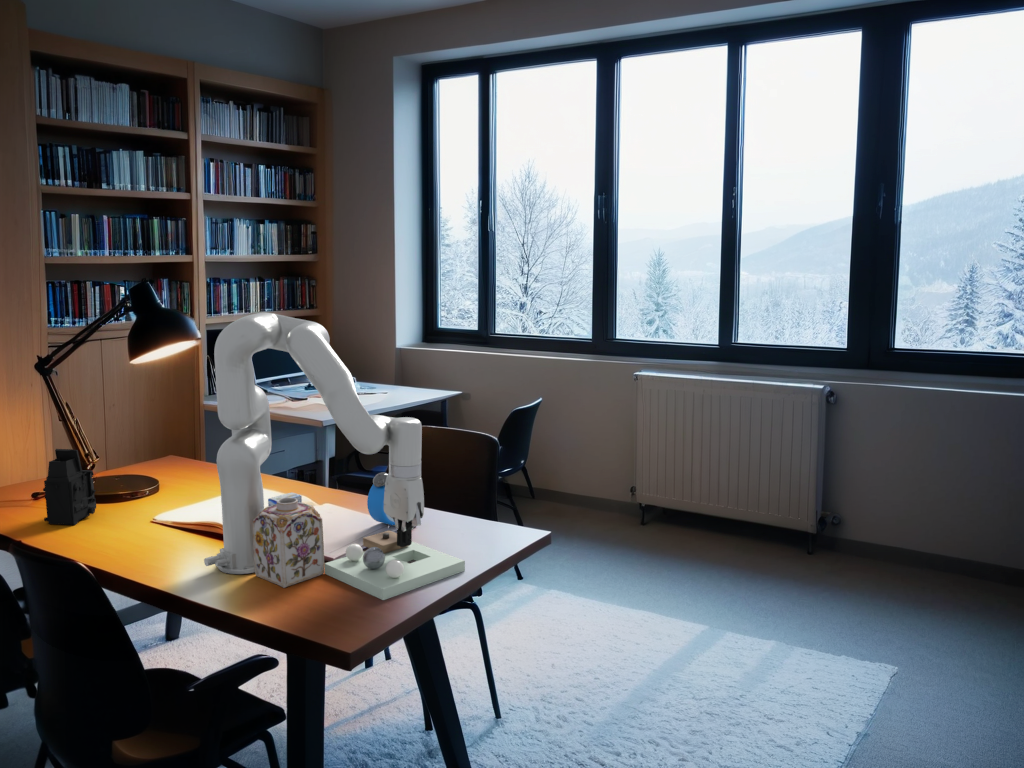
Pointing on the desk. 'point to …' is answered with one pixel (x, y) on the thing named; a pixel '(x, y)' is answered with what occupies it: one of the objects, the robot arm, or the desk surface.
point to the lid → (382, 541)
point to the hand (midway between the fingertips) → (404, 545)
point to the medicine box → (289, 495)
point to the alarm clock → (378, 500)
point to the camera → (68, 489)
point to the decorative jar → (288, 543)
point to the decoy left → (354, 552)
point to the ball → (373, 558)
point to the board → (415, 574)
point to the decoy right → (394, 568)
